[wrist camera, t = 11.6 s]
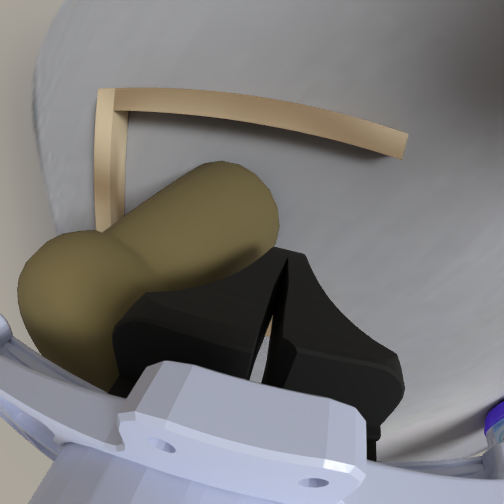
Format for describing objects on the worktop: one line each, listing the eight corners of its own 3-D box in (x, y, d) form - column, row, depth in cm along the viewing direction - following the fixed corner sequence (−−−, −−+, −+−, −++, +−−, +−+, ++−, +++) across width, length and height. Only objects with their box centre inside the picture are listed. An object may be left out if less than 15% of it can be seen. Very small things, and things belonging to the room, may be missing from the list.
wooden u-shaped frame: (331, 334, 18) (331, 350, 16) (113, 274, 19) (102, 285, 18) (399, 131, 12) (408, 134, 11) (114, 88, 14) (98, 88, 12)
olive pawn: (257, 288, 17) (142, 458, 7) (166, 243, 17) (18, 354, 8) (297, 188, 14) (146, 352, 4) (187, 145, 14) (-22, 210, 5)
